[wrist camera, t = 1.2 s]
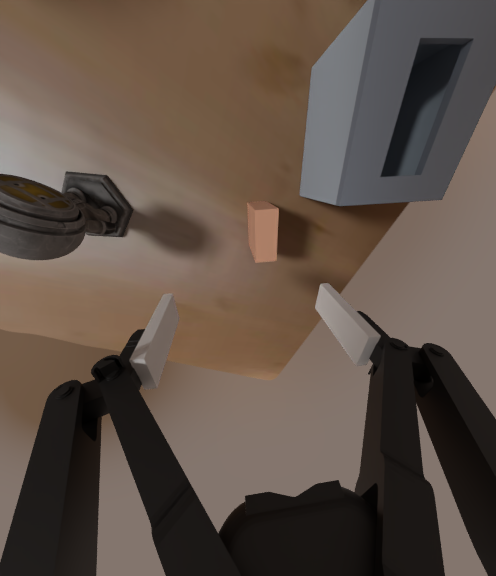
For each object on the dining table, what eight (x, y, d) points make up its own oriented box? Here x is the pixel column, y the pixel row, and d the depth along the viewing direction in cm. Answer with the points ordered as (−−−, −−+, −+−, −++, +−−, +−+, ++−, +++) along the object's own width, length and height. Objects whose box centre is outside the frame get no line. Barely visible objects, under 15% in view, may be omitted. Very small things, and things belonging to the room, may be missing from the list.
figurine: (138, 194, 27) (65, 212, 14) (118, 249, 31) (44, 301, 18) (70, 153, 24) (-103, 127, 11) (56, 219, 28) (-87, 257, 15)
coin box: (311, 67, 22) (385, -22, 12) (403, 67, 23) (542, -16, 13) (299, 195, 30) (339, 206, 20) (369, 191, 31) (441, 199, 21)
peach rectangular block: (247, 202, 29) (254, 210, 23) (265, 201, 30) (278, 208, 23) (249, 244, 33) (255, 262, 26) (265, 243, 33) (276, 260, 27)
